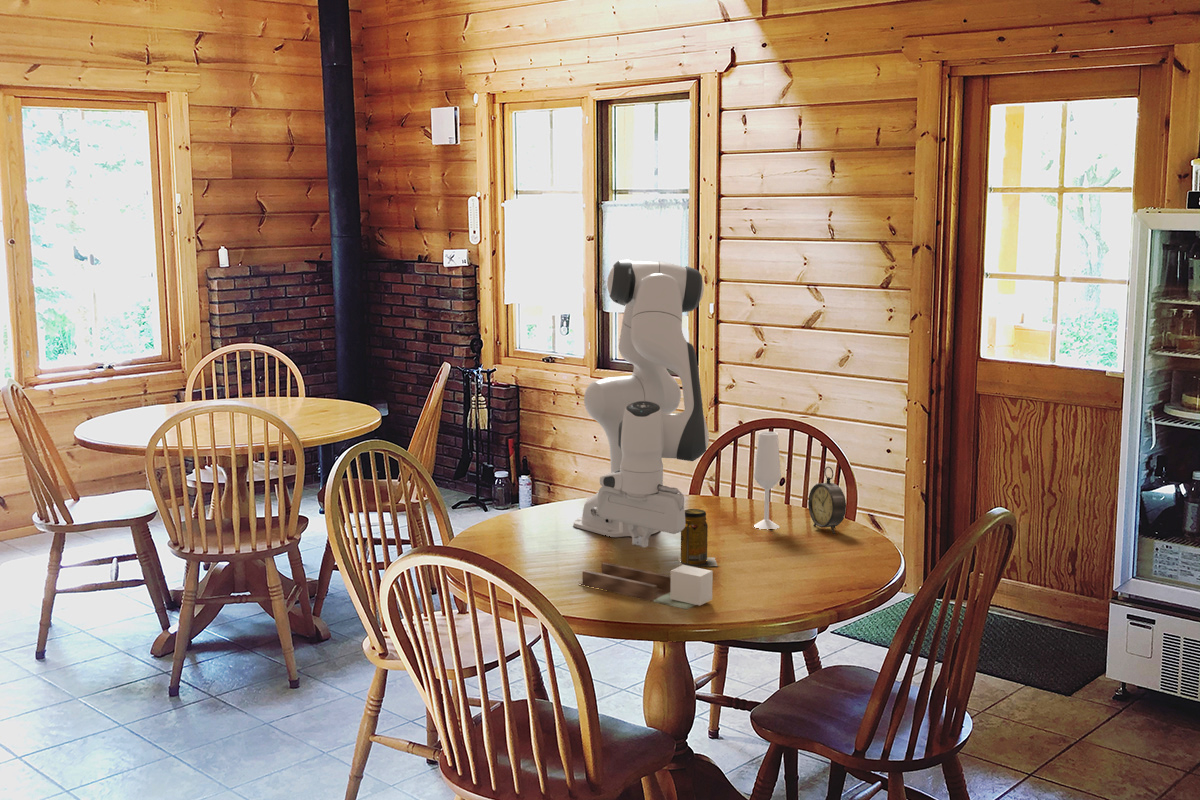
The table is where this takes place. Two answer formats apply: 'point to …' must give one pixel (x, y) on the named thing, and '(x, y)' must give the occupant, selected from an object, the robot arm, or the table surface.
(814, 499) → the alarm clock
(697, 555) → the condiment
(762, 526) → the champagne flute
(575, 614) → the table surface
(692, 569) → the block
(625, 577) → the chute
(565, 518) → the table surface
